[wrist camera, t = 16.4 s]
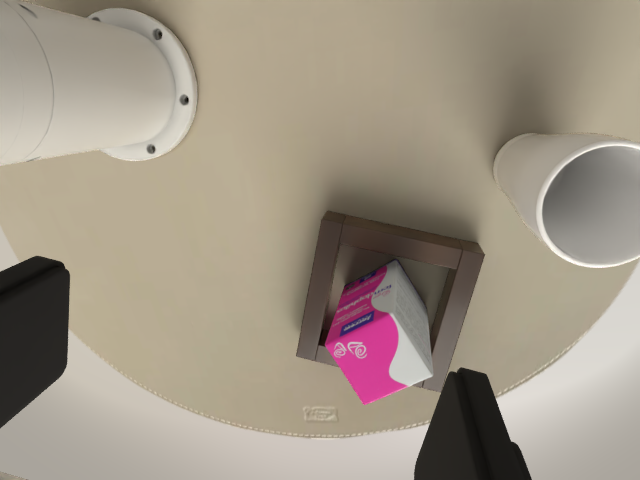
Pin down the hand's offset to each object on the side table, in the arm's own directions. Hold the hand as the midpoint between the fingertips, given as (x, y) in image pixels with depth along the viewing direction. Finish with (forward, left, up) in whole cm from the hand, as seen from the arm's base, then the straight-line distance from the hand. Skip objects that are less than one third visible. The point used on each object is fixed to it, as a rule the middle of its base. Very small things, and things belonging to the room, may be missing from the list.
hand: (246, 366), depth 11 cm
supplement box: (+5, -11, -30) cm, 33 cm away
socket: (+5, -11, -30) cm, 32 cm away
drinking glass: (+13, +3, -30) cm, 33 cm away
